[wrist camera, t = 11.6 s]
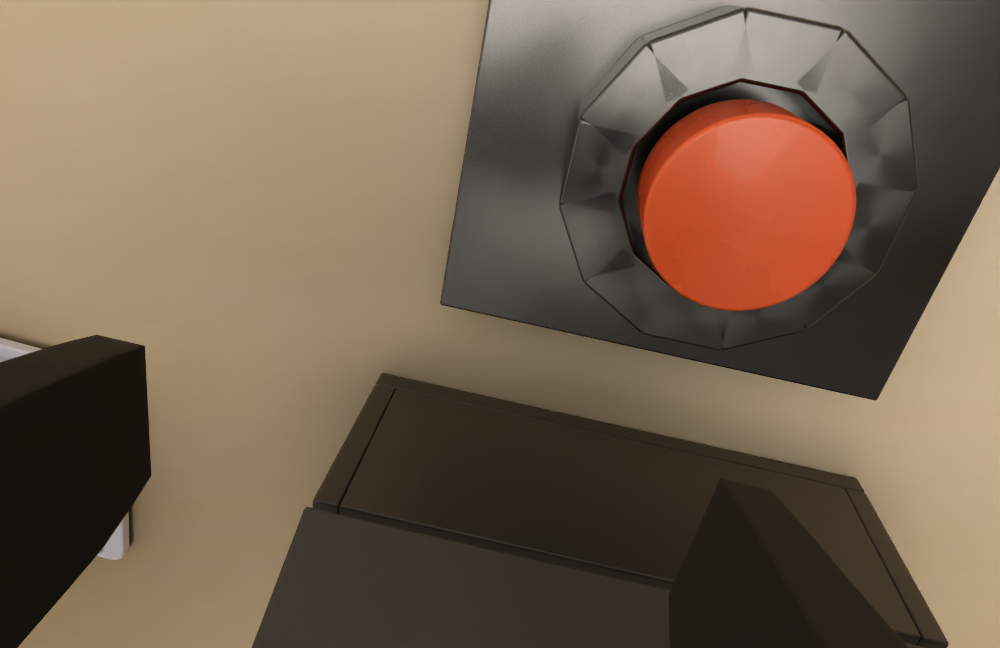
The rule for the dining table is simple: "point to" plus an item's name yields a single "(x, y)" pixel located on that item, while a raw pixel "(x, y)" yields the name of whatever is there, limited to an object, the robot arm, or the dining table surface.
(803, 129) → the button
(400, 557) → the box lid
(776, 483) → the dark grey box
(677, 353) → the button pad
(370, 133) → the dining table surface
